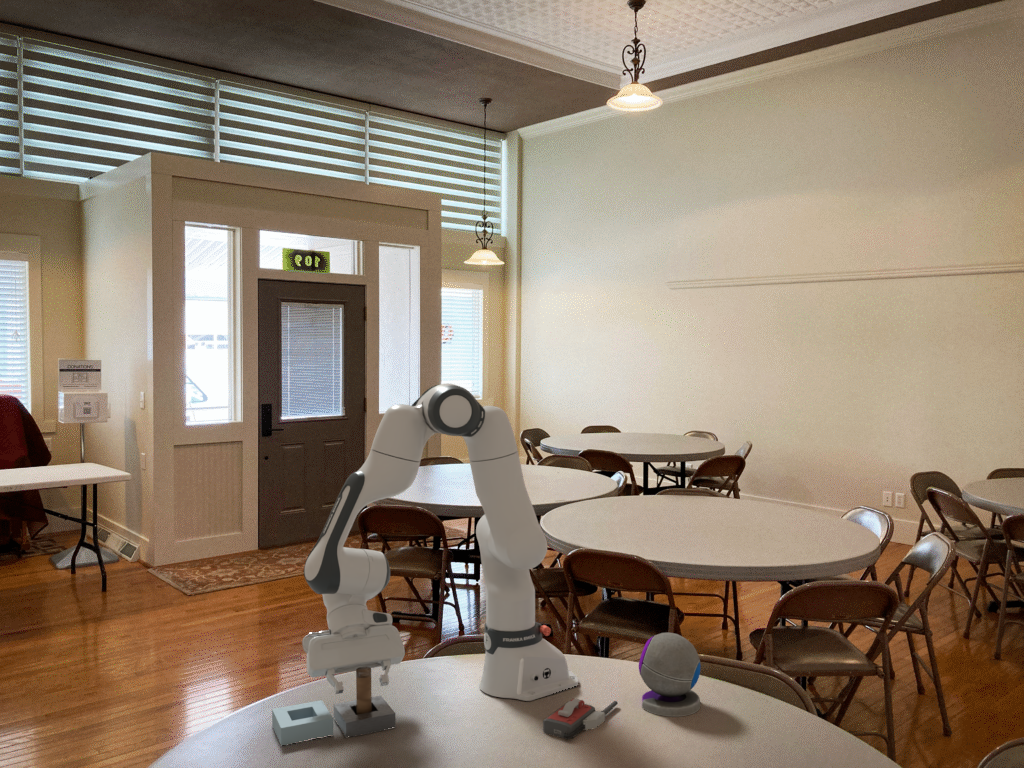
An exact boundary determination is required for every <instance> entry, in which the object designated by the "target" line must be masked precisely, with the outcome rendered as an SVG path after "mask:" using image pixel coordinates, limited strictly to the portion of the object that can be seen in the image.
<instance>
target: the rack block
mask: <svg viewBox="0 0 1024 768" xmlns="http://www.w3.org/2000/svg"><path fill="white" fill-rule="evenodd" d="M271 723H272V725H271V726H273V727H272V728H274V729H273V731H274V733H275V736H276V735H277V736H276V738H277V737H278V738H277V740H278V739H279V740H278V742H279V744H281V745H286V746H288V745H287V744H291V743H295V742H299V741H304V740H308V739H311V738H317V737H324V736H328V735H333V736H334V716H332V714H331V713H330V710H329V709H328V708H327V706H326V705H325V703H324V701H323V700H322V699H321V700H319V699H318V700H314V701H309V702H304V703H300V704H299V703H298V704H293V705H287V706H281V707H276V708H275V707H274V708H271ZM281 745H280V746H281ZM291 745H292V744H291Z"/></svg>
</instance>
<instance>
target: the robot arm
mask: <svg viewBox="0 0 1024 768" xmlns="http://www.w3.org/2000/svg"><path fill="white" fill-rule="evenodd" d="M514 433H515V432H514V431H513V427H512V424H511V422H510V419H509V417H508V416H507V412H506V411H505V410H504V409H503V408H501V407H498V406H494V405H484V406H482V405H481V404H480V402H479V401H478V400H477V399H476V397H475V396H474V395H473V394H472V393H471V392H470V391H469V390H467V388H465V387H462V386H460V385H457V384H455V383H454V384H453V383H440V384H435V385H433V386H431V387H429V388H427V389H425V391H424V392H423V393H422V394H421V395H420V396H419V397H418V398H417V399H416V400H415V401H414V402H413V403H412V404H411V405H410V404H395V405H392V406H390V407H388V408H387V410H386V411H385V412H384V414H383V416H382V418H381V421H380V422H379V424H378V427H377V430H376V432H375V435H374V437H373V441H372V443H371V447H370V451H369V454H368V456H367V458H366V460H365V461H364V463H363V464H362V465H361V467H359V469H358V470H357V471H354V472H352V473H351V474H349V476H348V477H347V479H346V480H345V481H344V484H343V486H342V487H341V490H339V491H340V492H339V494H338V496H337V497H336V500H335V502H334V504H333V506H332V508H331V510H330V513H329V516H328V518H327V519H326V522H325V523H324V527H323V529H322V531H321V533H320V536H318V537H319V538H318V540H317V541H316V543H314V544H315V545H314V546H313V547H312V549H311V550H310V553H308V555H307V557H306V560H305V562H304V566H303V577H304V579H305V581H306V584H307V585H308V586H309V587H310V589H311V590H312V591H313V592H314V593H315V594H318V595H322V601H323V604H324V607H325V608H326V621H327V627H328V629H326V630H320V631H316V632H315V631H312V632H309V633H308V634H307V635H305V636H304V637H303V638H302V641H301V644H302V649H303V651H304V652H305V653H306V671H307V675H309V676H310V678H314V679H315V678H319V677H320V678H321V677H325V678H326V681H327V682H328V683H329V684H330V685H331V687H333V690H334V694H335V695H338V694H343V693H344V690H345V689H344V688H345V687H344V686H343V685H344V682H343V681H338V680H337V678H336V677H335V675H336V674H337V675H338V674H343V673H349V672H356V669H357V668H360V667H370V668H371V669H374V668H375V669H376V668H381V669H382V671H383V672H384V673H383V674H380V677H379V679H378V680H379V681H378V682H379V685H380V687H385V686H389V684H390V679H389V672H390V669H391V666H392V665H398V664H401V662H403V660H404V657H405V653H406V650H405V645H404V642H403V639H402V637H401V634H400V632H399V630H398V628H397V627H396V626H394V625H393V616H392V615H391V613H387V612H379V611H374V610H371V609H368V606H367V601H369V600H373V599H374V598H376V597H377V596H378V594H380V593H382V592H383V590H384V589H385V588H386V587H387V586H388V584H389V583H390V579H391V568H390V564H389V560H388V558H387V557H386V555H385V554H384V553H383V552H382V551H378V550H374V549H366V548H355V547H345V546H344V545H345V543H346V541H347V539H348V536H349V534H350V531H351V530H352V528H353V525H354V522H355V520H356V518H357V517H358V516H357V515H358V514H359V513H360V512H361V511H362V509H363V508H365V507H367V506H368V505H370V504H371V503H374V502H377V501H380V500H384V499H385V500H386V499H388V498H393V497H396V496H399V495H400V494H403V493H404V492H405V491H407V490H409V488H410V487H411V486H412V485H413V483H414V482H415V480H416V478H417V475H418V472H419V469H420V465H421V461H422V456H423V453H424V448H425V446H426V444H427V442H428V440H430V438H432V436H434V435H435V434H441V435H446V436H452V437H462V439H463V440H464V442H465V445H466V447H467V452H468V454H467V455H468V460H469V465H470V470H471V475H472V480H473V484H474V489H475V494H476V497H477V499H478V501H479V502H480V505H481V507H482V510H483V515H482V516H481V517H480V519H479V520H478V521H477V524H476V527H475V528H476V529H475V534H476V535H475V536H476V539H477V542H478V546H479V552H480V562H481V567H482V568H481V569H482V573H483V579H484V586H485V587H484V588H485V614H486V616H485V617H486V618H485V621H486V622H485V623H484V628H483V629H484V633H483V634H484V635H483V643H484V650H485V655H484V664H483V671H482V675H481V679H480V683H479V689H480V690H481V691H482V692H483V693H485V694H487V695H488V696H492V697H498V698H502V699H503V698H504V699H515V700H518V701H519V700H520V701H524V702H525V701H526V702H531V701H535V700H537V699H540V698H544V697H546V696H550V695H554V694H556V692H557V693H560V692H563V691H566V690H569V689H568V688H570V689H572V687H573V688H575V687H574V686H576V687H577V685H578V686H579V684H578V683H579V677H578V676H577V675H576V674H575V673H574V672H573V671H571V670H570V669H569V668H568V665H569V664H568V661H567V658H566V656H565V655H564V654H563V652H562V651H561V650H560V649H558V648H557V647H556V646H554V645H553V644H551V643H550V642H549V641H547V640H546V639H545V638H543V635H544V636H545V637H548V636H550V634H552V628H550V627H549V626H547V625H546V624H543V625H542V624H541V623H539V622H537V621H536V589H535V586H534V583H533V579H532V576H531V574H530V570H531V569H534V568H536V567H538V566H539V565H540V564H541V563H543V560H544V559H545V558H546V555H547V553H548V541H547V538H546V535H545V533H544V532H543V530H542V528H541V526H540V524H539V520H538V517H537V514H536V512H535V508H534V505H533V504H532V500H531V498H530V496H529V493H528V491H527V487H526V484H525V480H524V476H523V469H522V465H521V461H520V460H521V459H520V455H519V451H518V446H517V445H518V444H517V442H516V437H515V434H514ZM565 689H566V690H565ZM562 690H563V691H562ZM559 691H560V692H559ZM553 693H554V694H553Z"/></svg>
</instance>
